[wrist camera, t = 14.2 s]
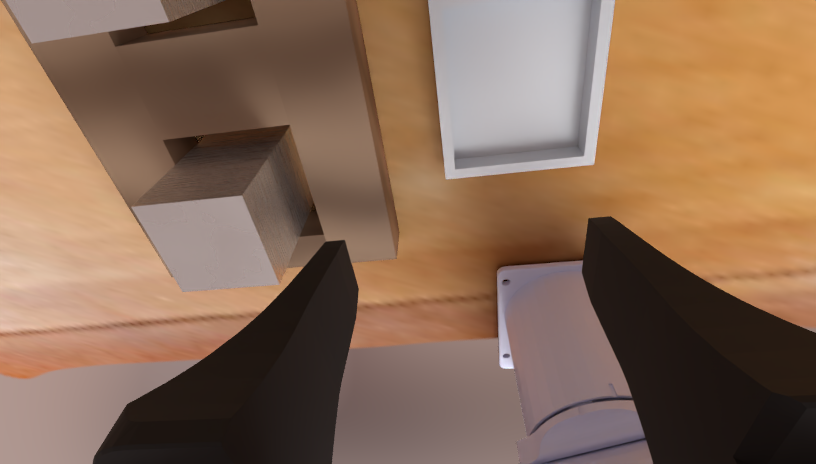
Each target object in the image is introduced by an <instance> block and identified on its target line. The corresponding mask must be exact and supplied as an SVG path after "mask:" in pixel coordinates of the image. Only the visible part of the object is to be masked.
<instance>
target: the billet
mask: <svg viewBox="0 0 816 464" xmlns="http://www.w3.org/2000/svg"><path fill="white" fill-rule="evenodd" d="M222 1H225V0H6V2H7V4H8V5H9V7H10V9H11V10H12V12H13V14H14V15H15V17H16V18H17V20H18V22H19V23H20V25H21V27H22V28H23V30H24V31H25V33H26V35H27V36H28V38H29V40H30V41H31V43H39V42H45V41H51V40H58V39H64V38H70V37H77V36H83V35H90V34H96V33H102V32H109V31H115V30H121V29H128V28H134V27H140V26H147V25H153V24H159V23H166V22H170V21H173V20H176V19H178V18H181V17H183V16H186V15H189V14H191V13H194V12H196V11H199V10H202V9H204V8H207V7H209V6H212V5H215V4H217V3H220V2H222Z"/></svg>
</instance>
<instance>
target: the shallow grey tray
mask: <svg viewBox="0 0 816 464" xmlns="http://www.w3.org/2000/svg"><path fill="white" fill-rule="evenodd" d="M428 5H429V15H430V26H431V36H432V46H433V56H434V66H435V76H436V86H437V96H438V106H439V117H440V127H441V137H442V147H443V157H444V167H445V177H446V180H447V179H457V178H467V177H477V176H487V175H497V174H507V173H516V172H526V171H536V170H546V169H556V168H566V167H575V166H585V165H594V161H595V154H596V146H597V138H598V130H599V122H600V115H601V107H602V99H603V91H604V83H605V76H606V68H607V60H608V52H609V44H610V37H611V29H612V21H613V13H614V5H615V0H428Z"/></svg>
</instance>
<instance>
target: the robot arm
mask: <svg viewBox="0 0 816 464" xmlns="http://www.w3.org/2000/svg"><path fill="white" fill-rule="evenodd" d="M505 279H507V280H508V281H503V280H505ZM358 290H359V288H358V285H357V281H356V278H355V274H354V270H353V267H352V263H351V260H350V256H349V253H348V249H347V246H346V242H345V240H337V241H326V242H325V243H324V244H323V245H322V246H321V247H320V249H319V250H318V251H317V252H316V253H315V255H314V256H313V257H312V258H311V259H310V261H309V262H308V263H307V264H306V265H305V267H304V268H303V269H302V270H301V271H300V272H299V274H298V275H297V276H296V277H295V278H294V279H293V280H292V282H291V283H290V284H289V285H288V286H287V287H286V288H285V289H284V290H283V291H282V292H281V293H280V294H279V295H278V296H277V298H276V299H275V300H274V301H273V302H272V303H271V304H270V305H269V306H268V307H267V308H266V309H265V310H264V311H263V312H262V313H260V314H259V315H258V316H257V317H256V318H255V319H254V320H253V321H252V322H250V323H249V324H248V325H247V326H246V327H245V328H244V329H242V330H241V331H240V332H239V333H238V334H236V335H235V336H234V337H232V338H231V339H230V340H228V341H227V342H226V343H224V344H223V345H222V346H220V347H219V348H218V349H216V350H215V351H214V352H213V353H211V354H210V355H208V356H207V357H205V358H204V359H203V360H201V361H200V362H198V363H197V364H195V365H194V366H192V367H191V368H189V369H187V370H186V371H185V372H183V373H181V374H180V375H178V376H176V377H175V378H173V379H171V380H170V381H168V382H167V383H165V384H163V385H161V386H159V387H158V388H156V389H154V390H152V391H150V392H149V393H147V394H145V395H143V396H142V397H140V398H138V399H136V400H134V401H132V402H130V403H129V404H127V405H126V407H125V408H124V410H123V412H122V413H121V415H120V416H119V418H118V420H117V421H116V423H115V424H114V426H113V427H112V429H111V431H110V432H109V434H108V435H107V437H106V439H105V440H104V442H103V443H102V445H101V447H100V448H99V450H98V451H97V453H96V455H95V456H94V460H93V464H332V455H333V444H334V434H335V424H336V417H337V408H338V400H339V393H340V387H341V382H342V377H343V373H344V369H345V364H346V360H347V356H348V351H349V347H350V343H351V338H352V334H353V329H354V325H355V320H356V313H357V303H358ZM497 305H498V345H499V346H498V348H499V365H500V367H502V368H505V369H509V368H514V371H515V376H516V380H517V386H518V391H519V397H520V402H521V407H522V412H523V418H524V424H525V428H526V434H527V437H526V438H524V439H521V440H518V441H517V442H516V443H517V448H518V454H519V461H520V464H816V333H815V332H812V331H809V330H807V329H805V328H802V327H800V326H797V325H795V324H792V323H790V322H788V321H785V320H783V319H781V318H779V317H776V316H774V315H772V314H770V313H767V312H765V311H763V310H761V309H758V308H756V307H754V306H752V305H750V304H748V303H746V302H744V301H742V300H740V299H738V298H736V297H734V296H732V295H730V294H729V293H727V292H725V291H723V290H721V289H719V288H717V287H715V286H714V285H712V284H710V283H708V282H706V281H705V280H703V279H701V278H700V277H698V276H696V275H695V274H693V273H692V272H690V271H688V270H687V269H685V268H684V267H682V266H680V265H679V264H677V263H676V262H674V261H673V260H671V259H670V258H668V257H667V256H665V255H664V254H662V253H661V252H660V251H658V250H657V249H655V248H654V247H652V246H651V245H650V244H648V243H647V242H645V241H644V240H643V239H641V238H640V237H639V236H637V235H636V234H635V233H633V232H632V231H630V230H629V229H628V228H626V227H625V226H624V225H622V224H621V223H620V222H618V221H617V220H615V219H614V218H612V217H611V216H610V217H599V218H589V219H588V227H587V234H586V242H585V250H584V257H583V260H581V261H568V262H555V263H543V264H530V265H517V266H505V267H501V268H499V269H498V271H497Z"/></svg>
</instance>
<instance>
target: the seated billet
mask: <svg viewBox="0 0 816 464" xmlns="http://www.w3.org/2000/svg"><path fill="white" fill-rule="evenodd" d="M313 203H314V201H313V198H312V195H311V191H310V188H309V185H308V182H307V179H306V175H305V172H304V169H303V166H302V163H301V160H300V156H299V153H298V150H297V147H296V144H295V140H294V137H293V134H292V131H291V128H290V125H282V126H274V127H266V128H258V129H249V130H241V131H233V132H225V133H216V134H208V135H206V136H205V137H204V138H203V139H202V140H201V141H200V142H199V143H198V144H197V145H196V146H195V147H194V148H193V149H192V150H190V151H189V152H188V153H187V154H186V155H185V156H184V157H183V158H182V159H181V160H180V161H179V162H178V163H177V164H176V165H175V166H174V167H173V168H171V169H170V170H169V171H168V172H167V173H166V174H165V175H164V176H163V177H162V178H161V179H160V180H159V181H158V182H157V183H156V184H155V185H154V186H153V187H151V188H150V189H149V190H148V191H147V192H146V193H145V194H144V195H143V196H142V197H141V198H140V199H139V200H138V201H137V202H136V203H135V204H134V205H133V206H131V208H132V209H133V211H134V213H135V214H136V216H137V218H138V219H139V221H140V223H141V224H142V226H143V227H144V229H145V231H146V232H147V234H148V236H149V237H150V239H151V241H152V242H153V244H154V246H155V247H156V249H157V250H158V252H159V254H160V255H161V257H162V259H163V260H164V262H165V264H166V265H167V267H168V269H169V270H170V272H171V273H172V275H173V277H174V278H175V280H176V282H177V283H178V285H179V287H180V288H181V290H182V292H189V291H202V290H215V289H228V288H241V287H254V286H267V285H280V282H281V280H282V277H283V275H284V273H285V270H286V268H287V265H288V263H289V261H290V258H291V256H292V253H293V251H294V249H295V246H296V244H297V241H298V239H299V237H300V234H301V232H302V229H303V227H304V224H305V222H306V220H307V217H308V215H309V212H310V210H311V208H312V205H313Z"/></svg>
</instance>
